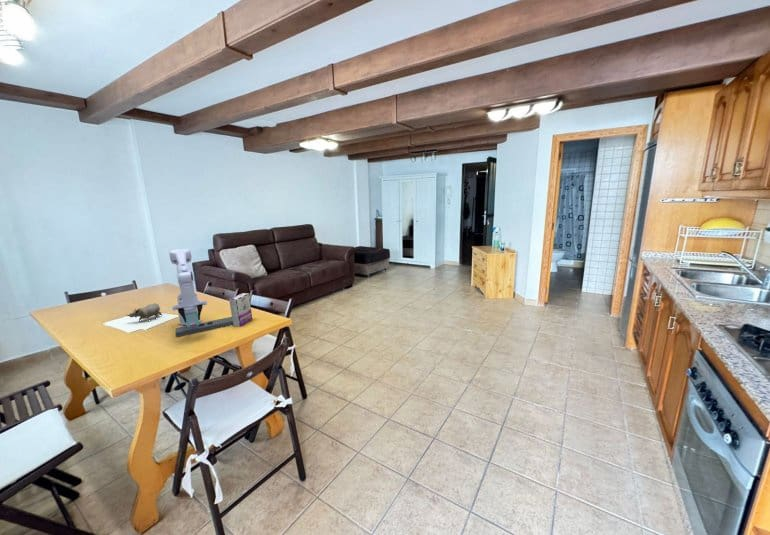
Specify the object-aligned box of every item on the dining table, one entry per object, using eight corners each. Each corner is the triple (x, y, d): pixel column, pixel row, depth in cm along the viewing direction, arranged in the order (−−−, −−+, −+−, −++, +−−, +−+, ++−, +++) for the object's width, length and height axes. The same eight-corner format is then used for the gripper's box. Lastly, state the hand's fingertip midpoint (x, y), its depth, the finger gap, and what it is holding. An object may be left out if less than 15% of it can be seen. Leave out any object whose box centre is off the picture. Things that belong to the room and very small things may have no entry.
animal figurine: (170, 312, 186) (149, 297, 177) (151, 330, 178) (128, 315, 169) (166, 310, 190) (145, 296, 182) (147, 328, 183) (124, 314, 174)
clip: (187, 327, 150) (185, 315, 149) (187, 325, 152) (185, 313, 151) (199, 324, 153) (197, 312, 152) (199, 323, 155) (197, 311, 154)
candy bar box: (245, 319, 179) (242, 292, 175) (252, 319, 178) (249, 293, 174) (232, 326, 168) (228, 298, 164) (240, 327, 167) (236, 299, 163)
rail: (175, 337, 155) (175, 332, 155) (176, 332, 162) (175, 327, 161) (235, 324, 170) (234, 320, 170) (233, 320, 177) (232, 316, 176)
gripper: (170, 300, 142) (175, 326, 145) (205, 294, 150) (209, 319, 153) (170, 296, 148) (175, 322, 151) (204, 291, 156) (208, 315, 159)
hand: (192, 320), depth 152 cm, fingers closed on clip, 5 cm apart
